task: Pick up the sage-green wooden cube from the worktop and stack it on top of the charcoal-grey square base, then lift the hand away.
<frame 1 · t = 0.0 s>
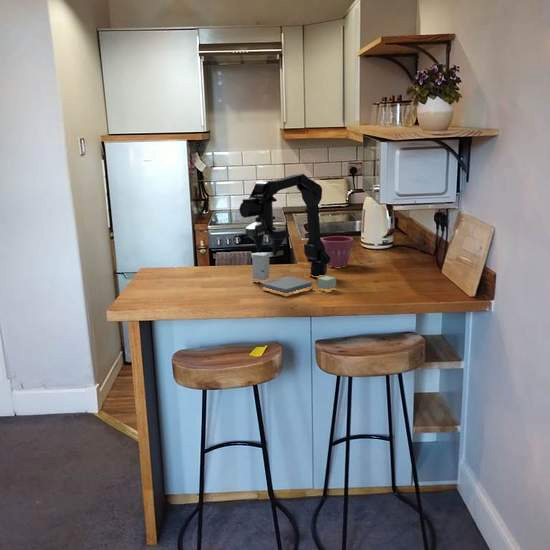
hand: (267, 254, 224), 15 cm above the countertop, tool pointing down, fingers open, 9 cm apart
base: (287, 289, 228), on the countertop
plant pot: (337, 266, 263), on the countertop
green cube: (326, 290, 225), on the countertop
skincare box: (261, 282, 241), on the countertop
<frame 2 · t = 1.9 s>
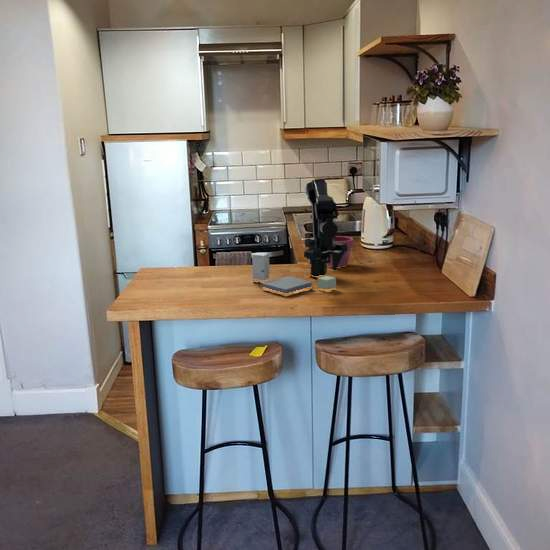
hand: (326, 272, 224), 7 cm above the countertop, tool pointing down, fingers open, 9 cm apart
nothing on the countertop moved.
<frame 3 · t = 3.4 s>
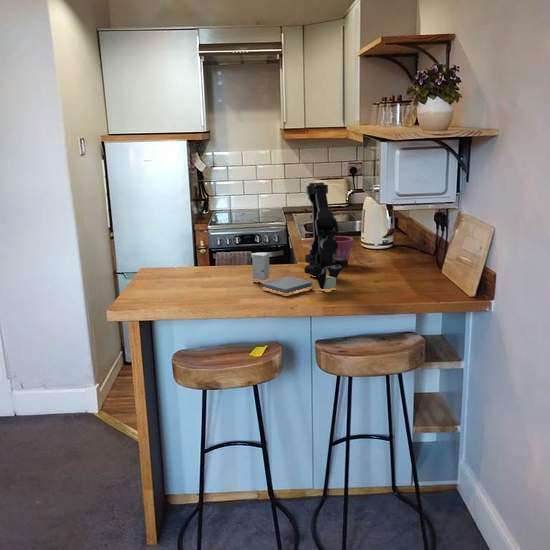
hand: (326, 287, 225), 1 cm above the countertop, tool pointing down, fingers closed on green cube, 5 cm apart
green cube: (326, 290, 225), on the countertop, touching gripper
everything else where it was.
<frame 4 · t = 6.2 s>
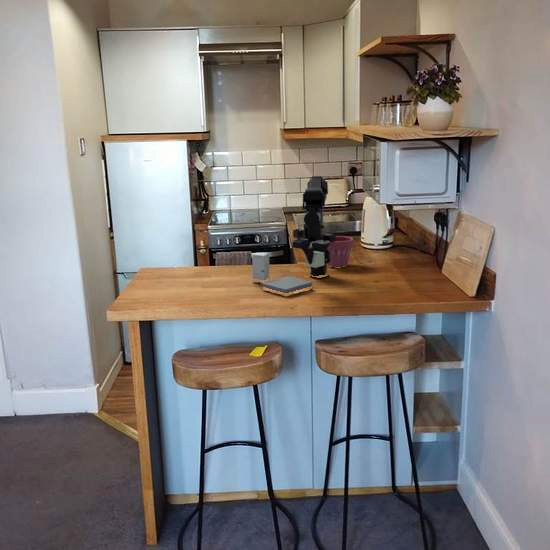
hand: (314, 262, 223), 11 cm above the countertop, tool pointing down, fingers closed on green cube, 5 cm apart
green cube: (315, 265, 223), point 10 cm above the countertop, touching gripper
everything else where it was.
when the fingers open (5 cm above the countertop, at t = 9.2 s): green cube stays where it is, resting on base.
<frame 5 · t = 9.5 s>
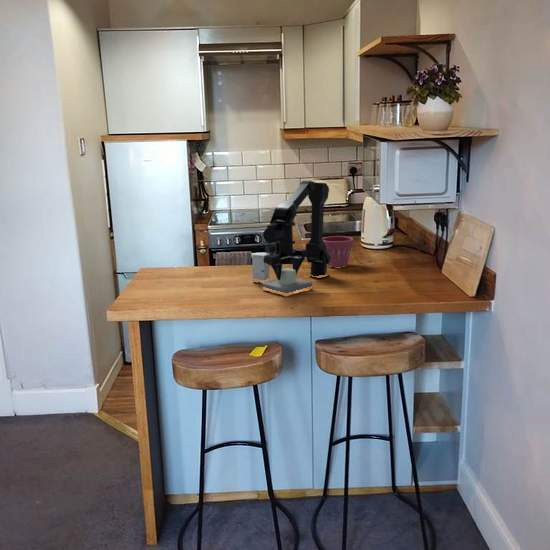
hand: (286, 277, 227), 5 cm above the countertop, tool pointing down, fingers open, 8 cm apart
green cube: (287, 282, 227), point 3 cm above the countertop, touching base
everything else where it was.
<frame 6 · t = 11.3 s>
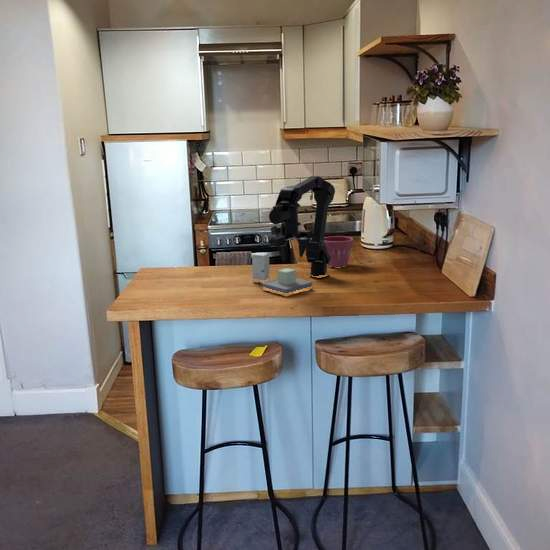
hand: (292, 259, 228), 12 cm above the countertop, tool pointing down, fingers open, 9 cm apart
nothing on the countertop moved.
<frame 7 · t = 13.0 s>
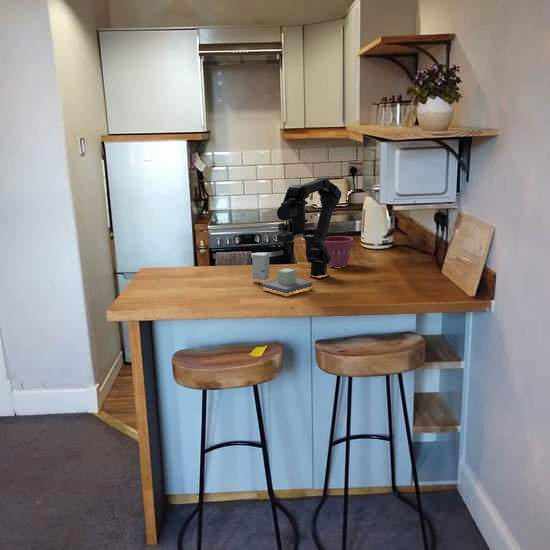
hand: (299, 255, 232), 12 cm above the countertop, tool pointing down, fingers open, 9 cm apart
nothing on the countertop moved.
at the end: green cube inside the target area on the base (0.1 cm from its centre), point 3.0 cm above the base's base; green cube tilted 0°; the gripper is holding nothing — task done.
